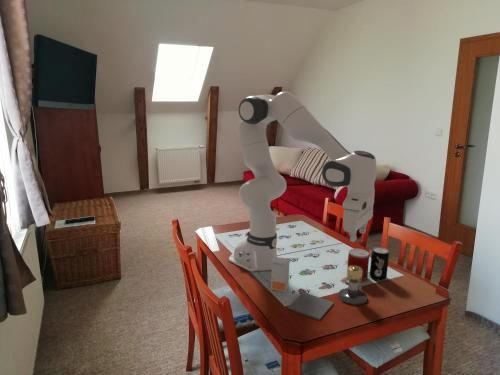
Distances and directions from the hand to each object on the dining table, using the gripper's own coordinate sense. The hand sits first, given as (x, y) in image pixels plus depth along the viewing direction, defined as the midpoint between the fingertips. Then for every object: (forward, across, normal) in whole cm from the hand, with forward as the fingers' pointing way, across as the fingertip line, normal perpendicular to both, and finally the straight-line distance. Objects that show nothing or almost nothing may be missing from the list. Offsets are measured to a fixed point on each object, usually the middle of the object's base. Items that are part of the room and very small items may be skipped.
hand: (357, 236), depth 130 cm
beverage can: (+24, -21, +3) cm, 32 cm away
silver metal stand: (+24, 0, 0) cm, 24 cm away
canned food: (+24, -16, -4) cm, 29 cm away
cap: (+16, 0, 0) cm, 16 cm away
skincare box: (+24, +10, -25) cm, 36 cm away
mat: (+24, +14, -10) cm, 29 cm away
